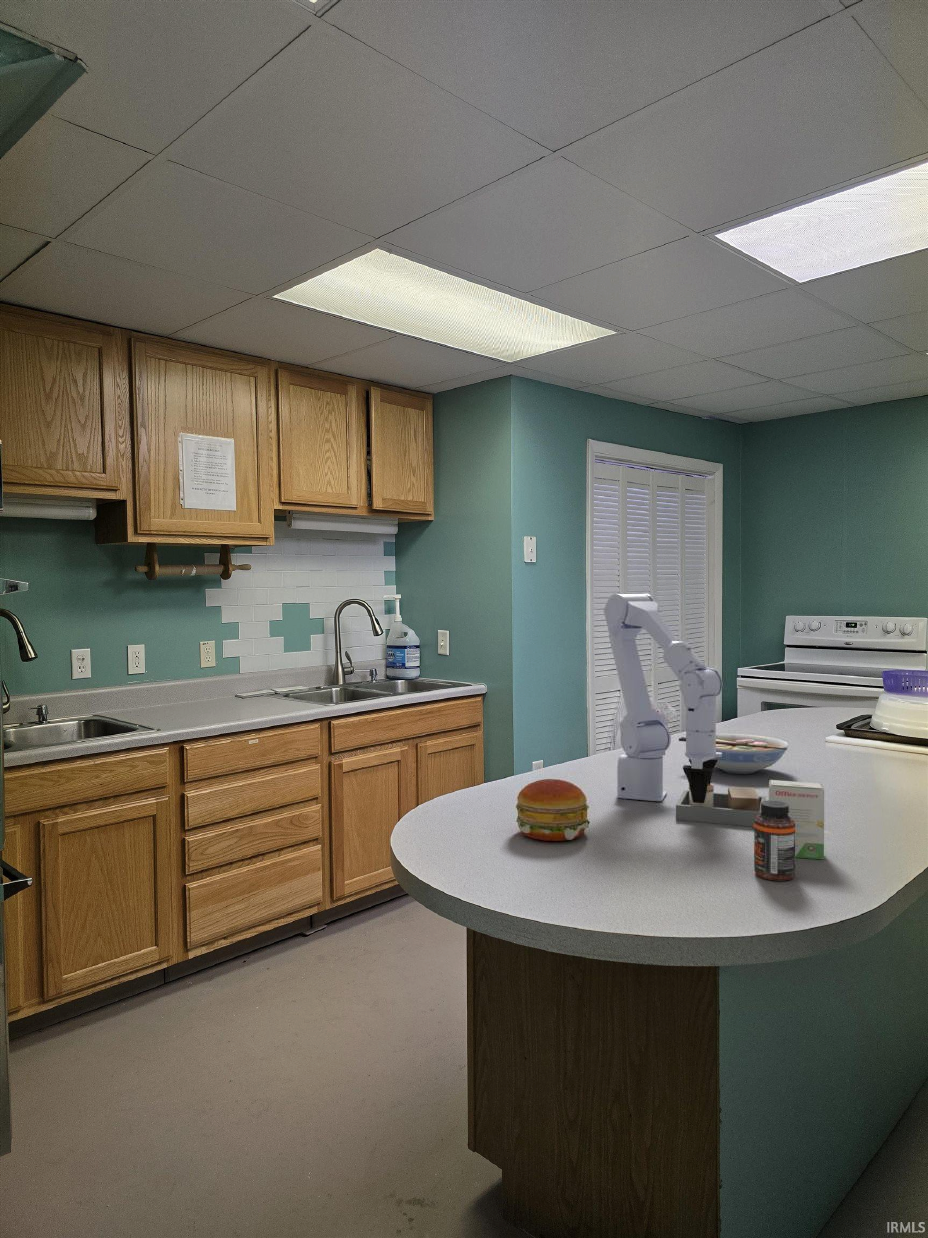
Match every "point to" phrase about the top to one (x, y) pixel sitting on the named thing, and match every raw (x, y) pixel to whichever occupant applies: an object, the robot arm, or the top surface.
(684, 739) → the ramen bowl
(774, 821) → the supplement bottle
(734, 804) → the block
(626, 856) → the top surface
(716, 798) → the tote
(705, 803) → the jar
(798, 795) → the ink box
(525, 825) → the burger
